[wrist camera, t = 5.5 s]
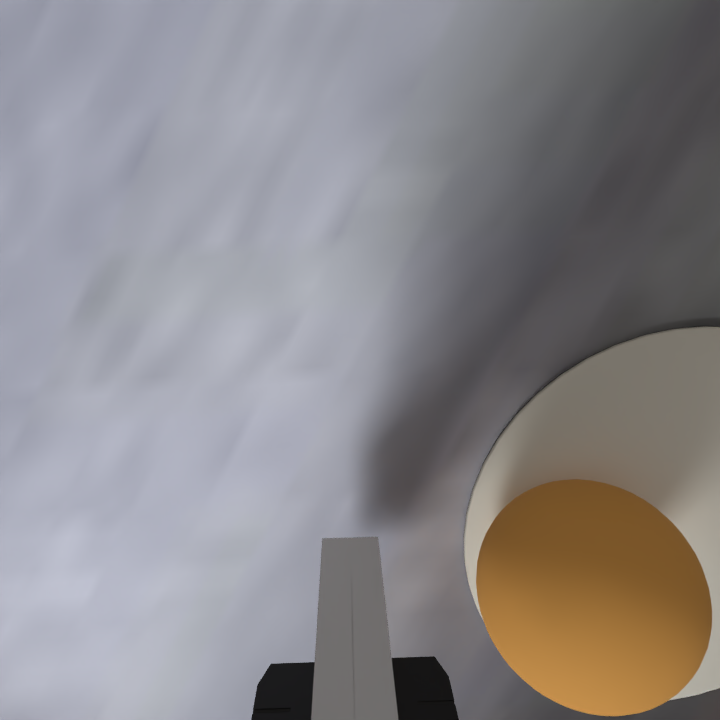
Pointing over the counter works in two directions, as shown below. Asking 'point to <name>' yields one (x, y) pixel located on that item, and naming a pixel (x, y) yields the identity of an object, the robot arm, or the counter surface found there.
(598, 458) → the disc
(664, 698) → the ball
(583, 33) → the counter surface
